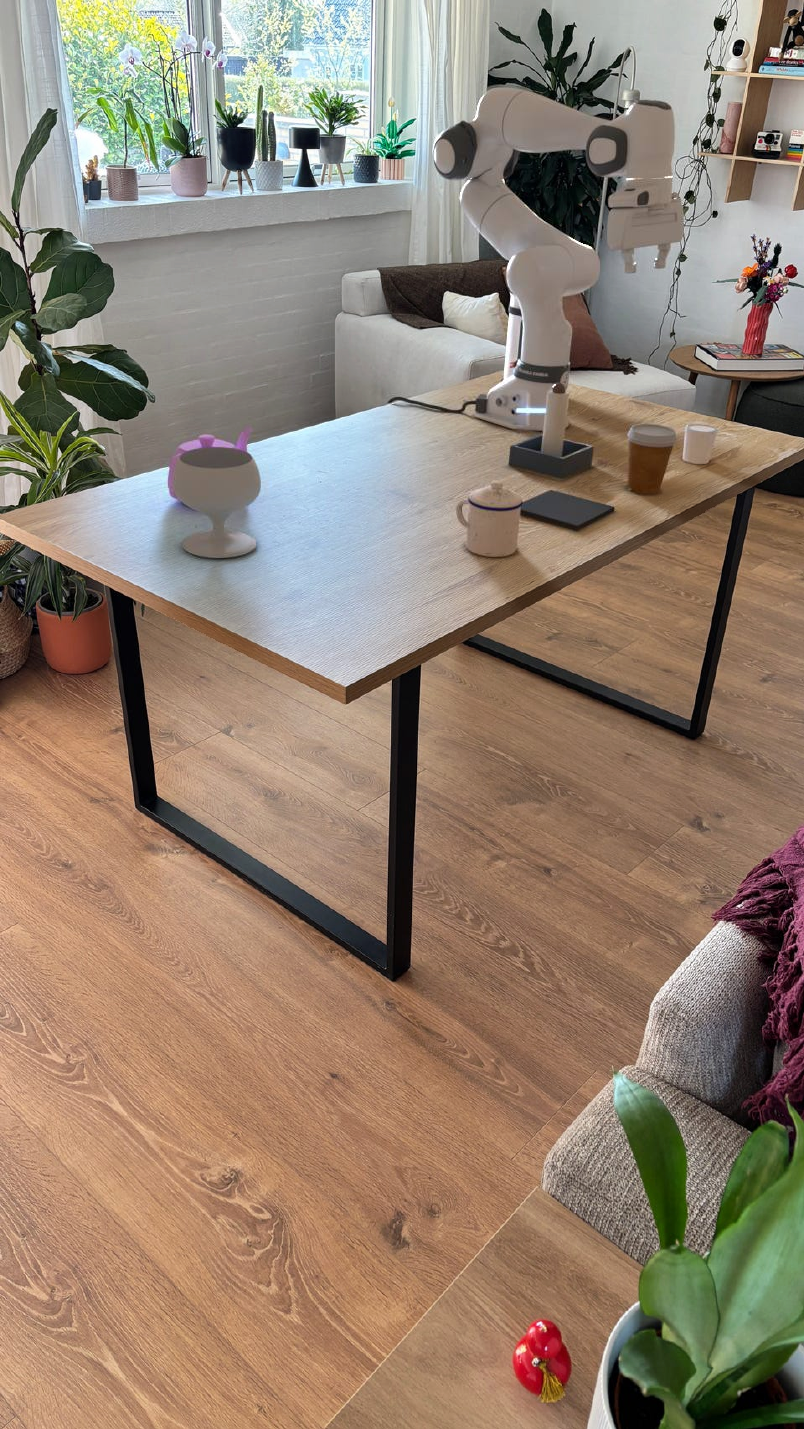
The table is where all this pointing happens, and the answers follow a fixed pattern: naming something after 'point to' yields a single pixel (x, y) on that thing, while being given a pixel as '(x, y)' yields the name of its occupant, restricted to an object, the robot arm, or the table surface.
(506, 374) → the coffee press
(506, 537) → the teacup with lid
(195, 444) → the teapot
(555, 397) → the pepper mill
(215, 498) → the chalice
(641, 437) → the disposable coffee cup
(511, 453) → the basket
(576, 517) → the mat
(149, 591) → the table surface
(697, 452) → the white cup
